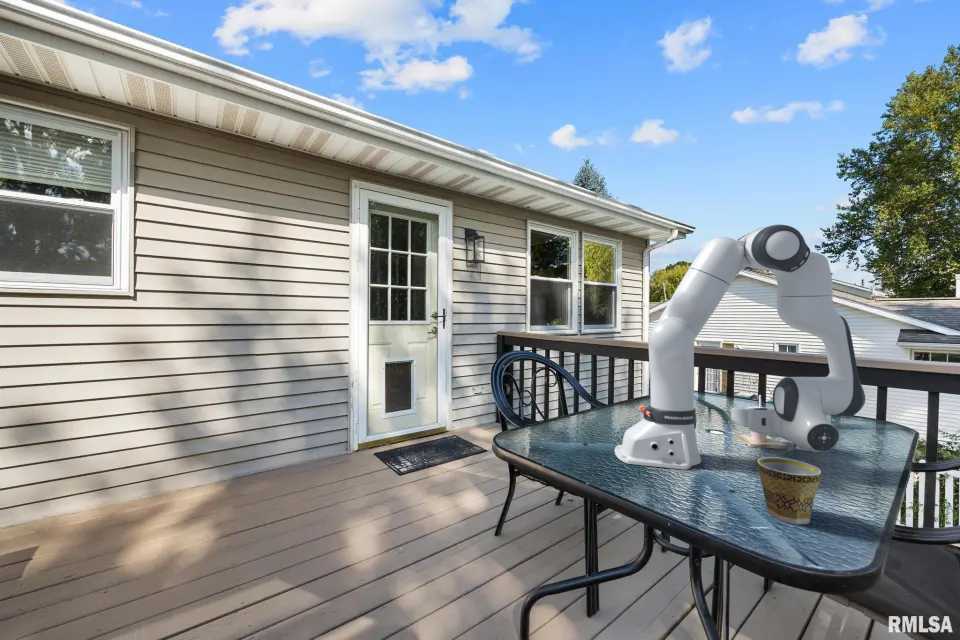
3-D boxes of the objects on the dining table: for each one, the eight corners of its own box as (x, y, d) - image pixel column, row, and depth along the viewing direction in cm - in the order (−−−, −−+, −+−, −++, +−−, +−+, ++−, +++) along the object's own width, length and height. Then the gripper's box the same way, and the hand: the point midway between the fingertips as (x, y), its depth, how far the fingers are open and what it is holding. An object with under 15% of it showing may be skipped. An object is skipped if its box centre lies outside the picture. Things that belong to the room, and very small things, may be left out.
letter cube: (818, 452, 115) (817, 435, 115) (796, 449, 118) (795, 432, 118) (817, 448, 119) (817, 431, 119) (796, 445, 122) (795, 428, 123)
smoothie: (775, 443, 121) (774, 397, 120) (752, 442, 122) (751, 397, 122) (765, 436, 127) (764, 392, 127) (742, 436, 128) (741, 392, 128)
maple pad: (750, 447, 120) (750, 444, 120) (734, 437, 130) (734, 434, 130) (786, 448, 119) (786, 445, 119) (767, 438, 129) (767, 435, 129)
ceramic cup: (836, 528, 74) (835, 474, 74) (786, 530, 73) (785, 476, 73) (778, 497, 87) (778, 451, 87) (735, 499, 86) (734, 453, 86)
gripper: (825, 411, 110) (793, 401, 124) (745, 409, 113) (722, 399, 127) (825, 433, 110) (793, 421, 124) (745, 431, 113) (723, 419, 127)
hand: (757, 410), depth 125 cm, fingers open, 8 cm apart
